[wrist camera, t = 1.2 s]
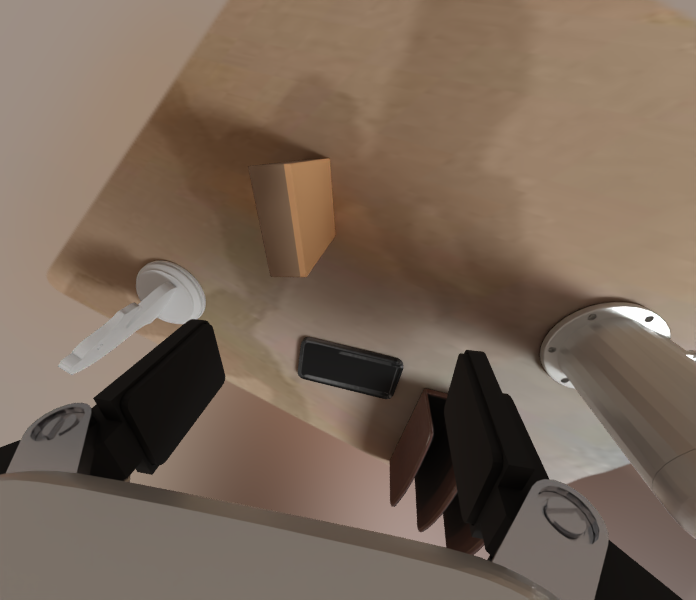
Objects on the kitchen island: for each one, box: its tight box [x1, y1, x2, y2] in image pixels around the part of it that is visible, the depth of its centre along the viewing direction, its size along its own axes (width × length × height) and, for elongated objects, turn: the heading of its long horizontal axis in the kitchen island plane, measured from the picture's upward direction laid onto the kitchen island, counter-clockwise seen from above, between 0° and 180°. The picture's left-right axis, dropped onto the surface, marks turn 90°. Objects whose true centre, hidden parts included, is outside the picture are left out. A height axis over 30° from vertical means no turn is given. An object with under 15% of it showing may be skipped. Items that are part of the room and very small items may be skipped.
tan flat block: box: [248, 158, 336, 277], centre depth 25 cm, size 3×8×12 cm, turn 3°
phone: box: [298, 337, 403, 399], centre depth 41 cm, size 8×1×15 cm
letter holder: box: [390, 388, 484, 555], centre depth 40 cm, size 10×20×14 cm, turn 169°
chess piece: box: [58, 261, 206, 375], centre depth 33 cm, size 10×10×15 cm
